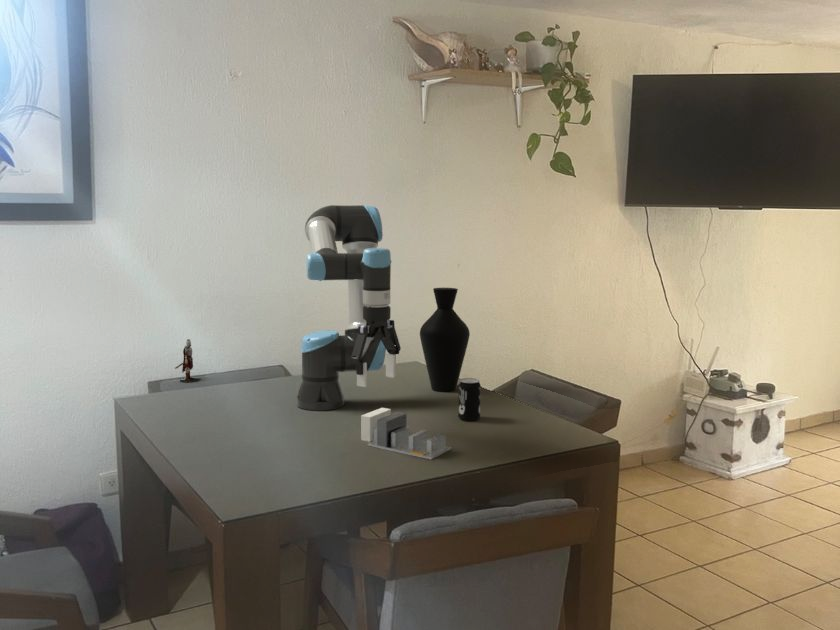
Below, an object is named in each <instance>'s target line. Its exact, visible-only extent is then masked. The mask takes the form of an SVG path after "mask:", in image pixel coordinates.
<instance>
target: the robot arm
mask: <svg viewBox="0 0 840 630" xmlns="http://www.w3.org/2000/svg"><path fill="white" fill-rule="evenodd" d="M304 225H305V226H304V233H305V236H306V239H307V240H308V241H309V244H310V250H311V252H310V253H308V254H307V256H306V276H307V279H308V280H311V281H318V282H319V281H320V282H322V281H347V284H348V286H347V287H348V294H347V295H348V325H347V327H346V328H345V329H344V334H343V335H340V333H339V331H338V330H330V329H329V330H319V331H314V332H311V333H308V334H306V335H304V336H303V338H302V339H301V350H300V352H301V382H300V387H299V389H298V393H297V395H296V406H297V407H298V408H299V409H302V408H303V410H308V411H329V410H330V411H331V410H335V409H339V408H341V407H343V406H344V405H345V395H344V393H343V391H342V387H341V383H340V379H339V378H340V377H339V376H340V375H339V373H350V372H352V373H353V372H355V373H356V387H362V388H367V386H368V384H367V382H368V378H367V377H368V375H367V374H368V372H376V371H379V370H381V369H383V367H384V363H385V377H386V378H393V379H394V378H396V363H397V362H396V358H397V357H396V355H399V354H400V352H401V344H400V342H399V338H398V334H397V331H396V327H395V320H394V319H391V306H390V304H391V273H392V272H391V270H392V269H391V267H392V259H391V255H392V254H391V251H390V249H388V248H384V247H378V246H379V243H380V242H382V240H383V235H384V234H383V223H382V218H381V214H380V212H379V209H378V208H377V207H376V206H373V205H364V204H361V205H334V204H330V205H326V206H323V207H321V208H318V209H317V210H316V211H314V212H312V213H311V214H310V216H308V218H307V220H306V222H305V224H304ZM336 242H341V243H342V249H344V250H345V252H344V253H343V252H341V253H340V252H339V251H338V247H337V243H336ZM386 351H387V352H386Z"/></svg>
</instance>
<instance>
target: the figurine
mask: <svg viewBox="0 0 840 630" xmlns="http://www.w3.org/2000/svg"><path fill="white" fill-rule="evenodd" d="M182 353H183V361H182V362H181V363H180V364H178V365H177V366H176V367H174V369H175V370H177V369H178V368H180V367H181V366H182V371H181V372H182V374H184V372H185V374H184V375H185V378H186V379H185V380H181V379H179V382H180V383H182V384H183V383H184V384H191V383H196V382H199V381H200V379H199V378H196V377H191V371H192V370H193V369H194V361H193V359H194V358H193V349H192V342H191V339H186V345H184V347H183V350H182Z"/></svg>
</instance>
